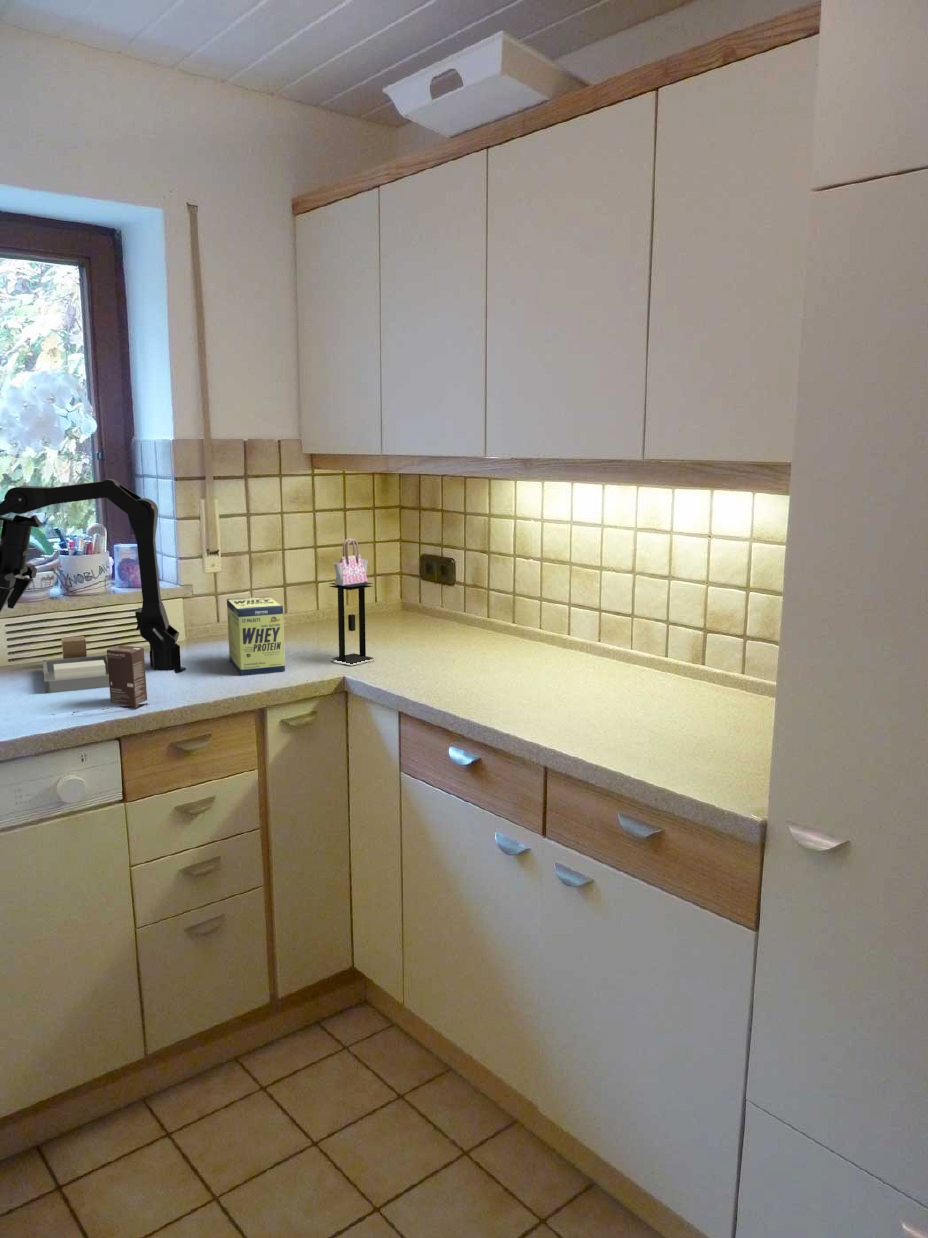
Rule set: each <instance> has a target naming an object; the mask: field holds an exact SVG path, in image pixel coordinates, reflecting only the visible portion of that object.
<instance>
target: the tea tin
mask: <svg viewBox="0 0 928 1238" xmlns="http://www.w3.org/2000/svg"><path fill="white" fill-rule="evenodd" d="M61 648H62V649H61V651H62V659H67V658H79V657H88V656H87V655H88V654H87V653H88V652H87V641H86V638H85V635H77V636H67V637H61Z"/></svg>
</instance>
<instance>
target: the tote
mask: <svg viewBox="0 0 928 1238" xmlns="http://www.w3.org/2000/svg"><path fill="white" fill-rule="evenodd" d="M96 660H104V663H105V669H106V675H100V676H90V677H79V678H69V679H59V680H55V678H54V666H53V664H63V663H74V662H85V661H96ZM42 672H43V680H44V688H45V689H44V690H45V695H47V694H55V693H65V692H75V691H84V690H94V689H104V688H110V686H109V673H108V660H107V654H104V655H92V656H91V655H90V656H87V657H79V658H67V659H63V658H59V659H57V658H56V659H46V660H42Z"/></svg>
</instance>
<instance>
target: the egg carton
mask: <svg viewBox="0 0 928 1238" xmlns="http://www.w3.org/2000/svg"><path fill="white" fill-rule="evenodd" d="M53 666H54V678H55V680H59V679H69V678H79V677H90V676H100V675H106V669H105V663H104V660H96V661H85V662H74V663H63V664H53Z"/></svg>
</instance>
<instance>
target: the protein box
mask: <svg viewBox="0 0 928 1238" xmlns="http://www.w3.org/2000/svg"><path fill="white" fill-rule="evenodd" d="M226 609H227V611H226V612H227V614H226V615H227V633H228V634H227V635H228V636H227V637H228V654H229V657H228V658H229V662H230V663H231V665H232V666H233V667H234V669H235V670H236V671H237V672H238V674H239V676H242V677H243V676H250V675H251V676H252V674H253V675H259V674H258V673H263V674H270V673H284V672H283V671H285V672H286V658H285V630H284V628H285V627H284V626H285V625H284V606H283V605H282V604H280V603H279V602H278V601H277V600H274V598H272V597H270V596H255V597H254V596H253V597H240V598H239V597H237V598H235V597H234V598H226Z"/></svg>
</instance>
